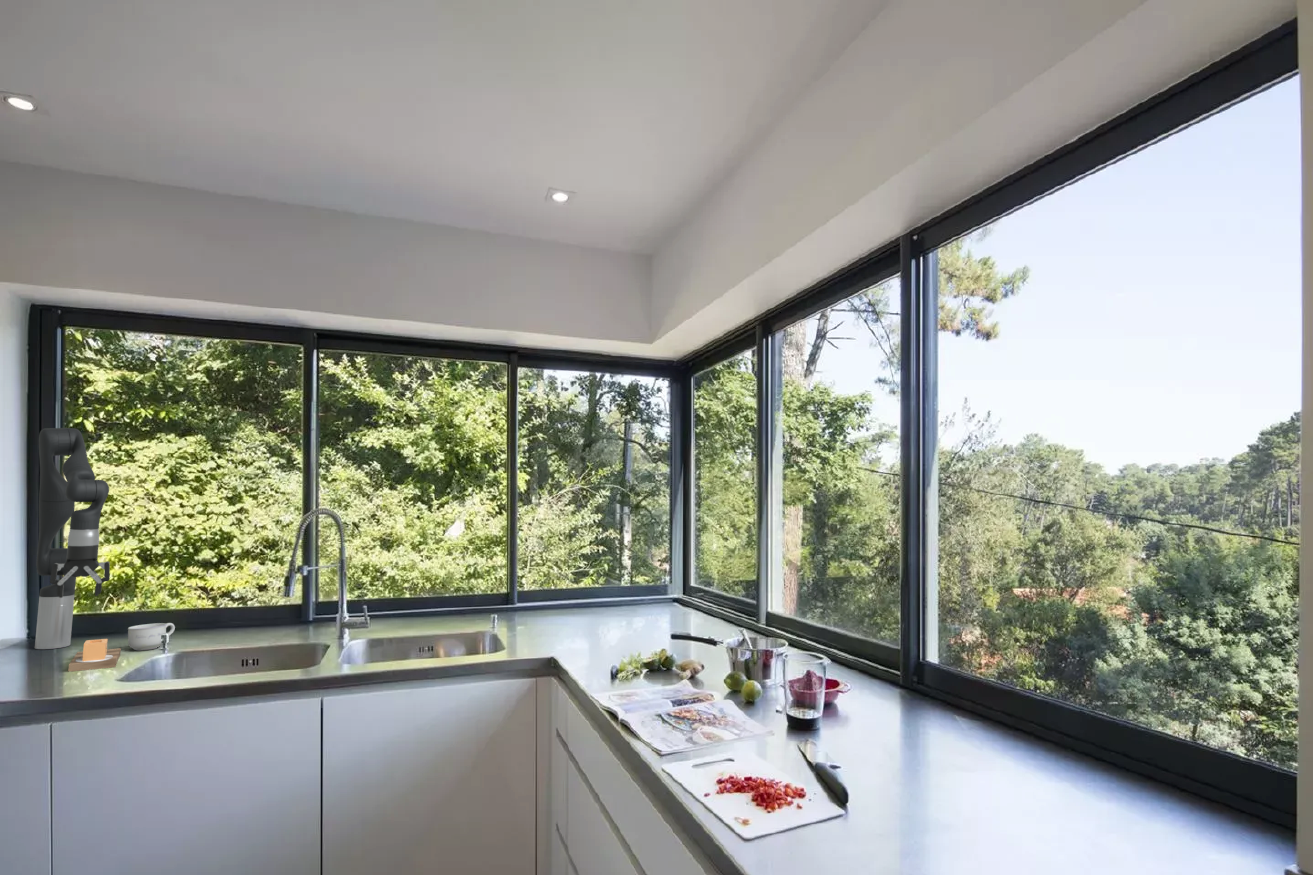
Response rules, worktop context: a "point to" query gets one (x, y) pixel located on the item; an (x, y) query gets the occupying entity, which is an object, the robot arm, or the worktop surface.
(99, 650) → the orange block
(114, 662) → the shaft board
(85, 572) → the robot arm
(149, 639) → the teacup
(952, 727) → the worktop surface
